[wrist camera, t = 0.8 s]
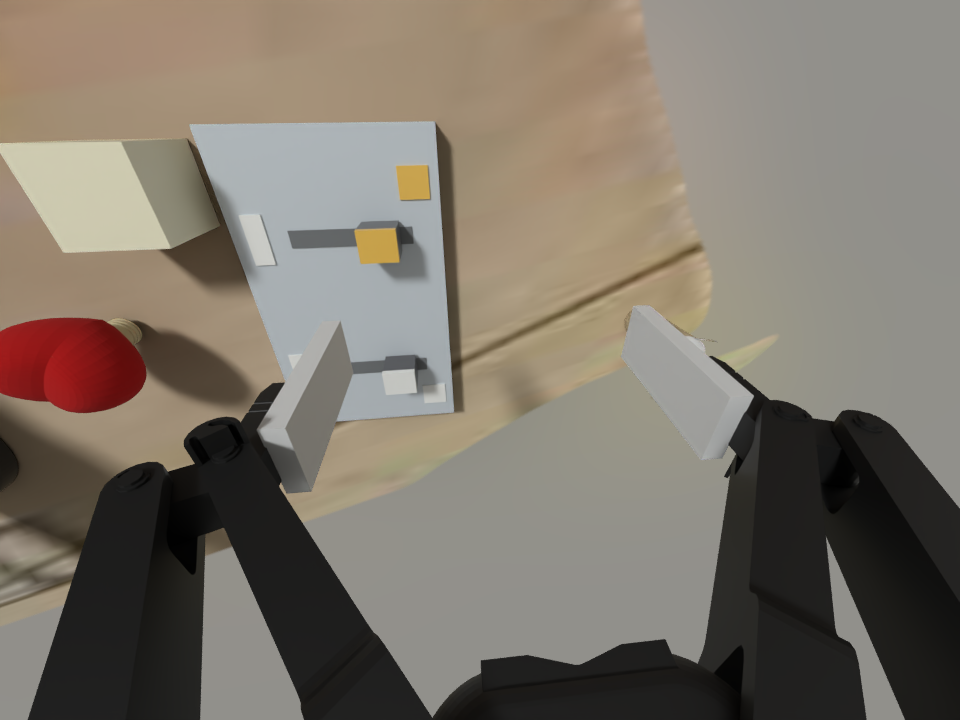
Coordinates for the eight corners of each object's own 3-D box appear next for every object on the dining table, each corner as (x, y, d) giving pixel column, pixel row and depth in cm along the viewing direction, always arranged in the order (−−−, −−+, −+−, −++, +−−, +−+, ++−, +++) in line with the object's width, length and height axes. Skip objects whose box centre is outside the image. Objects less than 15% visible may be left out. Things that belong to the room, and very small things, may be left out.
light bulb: (193, 317, 35) (115, 378, 26) (182, 371, 38) (109, 442, 29) (71, 273, 31) (-62, 326, 23) (69, 336, 34) (-48, 404, 26)
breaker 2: (389, 376, 38) (385, 395, 35) (385, 356, 37) (381, 374, 34) (418, 374, 38) (417, 392, 36) (415, 354, 37) (414, 371, 34)
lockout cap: (134, 228, 30) (63, 252, 24) (88, 139, 27) (-6, 143, 21) (220, 225, 31) (171, 248, 25) (186, 138, 27) (120, 141, 21)
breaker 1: (366, 252, 31) (360, 264, 28) (361, 221, 29) (354, 230, 27) (402, 251, 31) (399, 262, 28) (398, 220, 30) (395, 229, 27)
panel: (306, 412, 42) (301, 425, 40) (204, 124, 27) (187, 124, 25) (453, 401, 43) (454, 413, 42) (435, 121, 28) (435, 121, 26)
